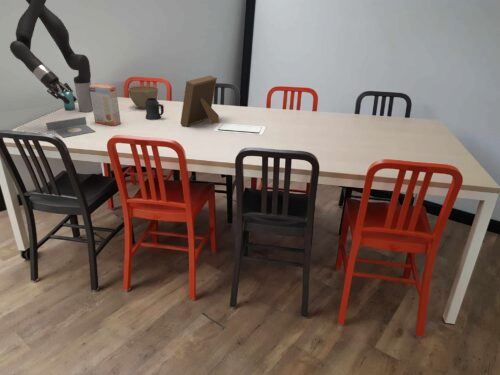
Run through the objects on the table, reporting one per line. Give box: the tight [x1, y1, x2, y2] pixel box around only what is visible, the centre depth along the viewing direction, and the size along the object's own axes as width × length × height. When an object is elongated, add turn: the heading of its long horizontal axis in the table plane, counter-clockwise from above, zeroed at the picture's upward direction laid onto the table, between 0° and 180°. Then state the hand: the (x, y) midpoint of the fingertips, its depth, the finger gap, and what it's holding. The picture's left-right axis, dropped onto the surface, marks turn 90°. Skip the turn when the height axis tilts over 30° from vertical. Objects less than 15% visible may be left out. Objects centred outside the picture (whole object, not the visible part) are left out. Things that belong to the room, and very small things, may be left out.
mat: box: [53, 124, 96, 139], centre depth 197 cm, size 16×16×1 cm
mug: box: [145, 98, 165, 121], centre depth 219 cm, size 12×9×11 cm
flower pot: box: [127, 85, 159, 110], centre depth 240 cm, size 18×18×12 cm
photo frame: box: [179, 75, 220, 128], centre depth 209 cm, size 15×22×25 cm
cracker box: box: [89, 83, 122, 127], centre depth 206 cm, size 14×6×21 cm, turn 65°
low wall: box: [45, 116, 88, 131], centre depth 202 cm, size 20×1×4 cm, turn 130°
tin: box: [62, 90, 77, 112], centre depth 190 cm, size 5×5×9 cm
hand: (72, 101), depth 190 cm, fingers closed on tin, 5 cm apart
